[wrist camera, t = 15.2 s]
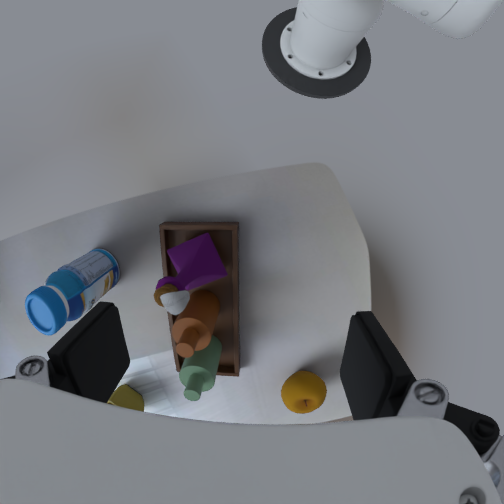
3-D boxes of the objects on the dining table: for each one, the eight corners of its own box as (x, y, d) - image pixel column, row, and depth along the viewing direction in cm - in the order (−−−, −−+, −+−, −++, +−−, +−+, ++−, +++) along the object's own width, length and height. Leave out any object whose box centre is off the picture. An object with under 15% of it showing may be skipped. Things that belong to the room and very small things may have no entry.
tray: (164, 221, 46) (159, 224, 44) (238, 222, 46) (237, 225, 44) (179, 364, 55) (176, 371, 52) (239, 368, 54) (238, 376, 52)
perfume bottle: (191, 283, 49) (158, 340, 32) (172, 244, 47) (126, 287, 30) (230, 268, 48) (212, 323, 30) (211, 227, 46) (181, 264, 29)
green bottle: (190, 331, 52) (170, 379, 38) (221, 333, 52) (209, 383, 38) (193, 356, 53) (176, 405, 40) (222, 358, 53) (212, 409, 40)
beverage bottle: (113, 242, 48) (44, 283, 29) (127, 284, 50) (70, 340, 31) (80, 252, 49) (13, 291, 30) (94, 291, 51) (36, 342, 32)
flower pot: (152, 397, 59) (141, 423, 50) (136, 409, 61) (125, 434, 52) (123, 375, 57) (108, 400, 48) (109, 389, 59) (95, 412, 50)
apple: (312, 394, 56) (317, 424, 48) (274, 388, 56) (275, 418, 47) (329, 364, 54) (337, 394, 45) (288, 357, 53) (291, 387, 45)
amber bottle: (186, 288, 49) (161, 330, 36) (219, 290, 49) (204, 333, 36) (188, 318, 51) (167, 364, 37) (220, 320, 51) (207, 368, 37)
